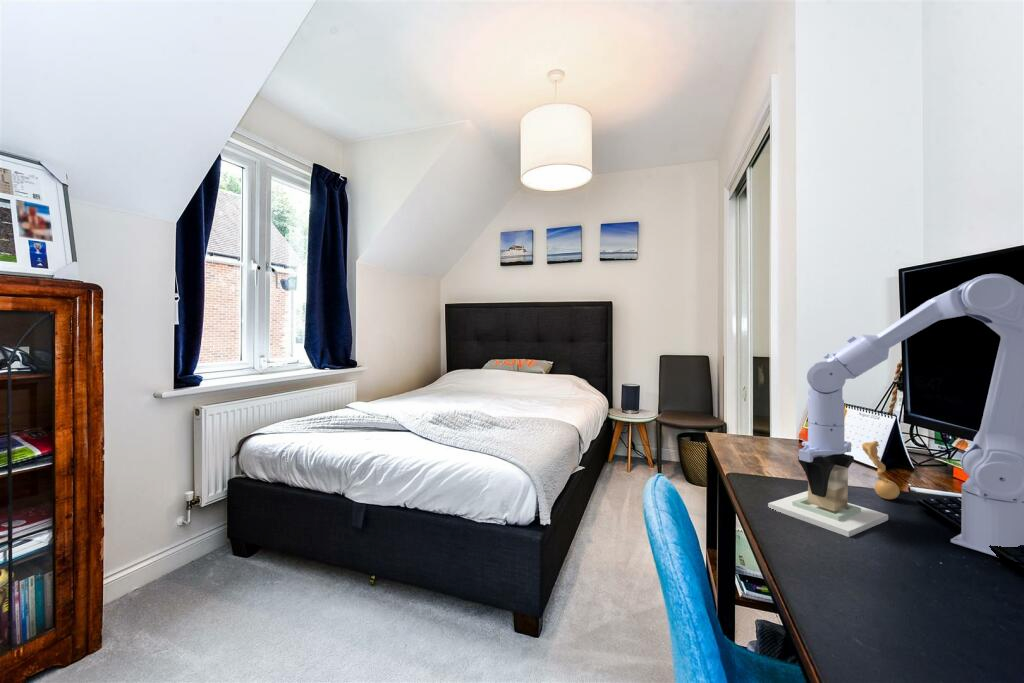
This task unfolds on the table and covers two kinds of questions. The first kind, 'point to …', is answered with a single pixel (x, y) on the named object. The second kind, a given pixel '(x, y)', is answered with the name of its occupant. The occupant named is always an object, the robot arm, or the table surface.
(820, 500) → the block stack
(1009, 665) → the table surface
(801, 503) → the collar board
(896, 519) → the table surface
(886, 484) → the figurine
